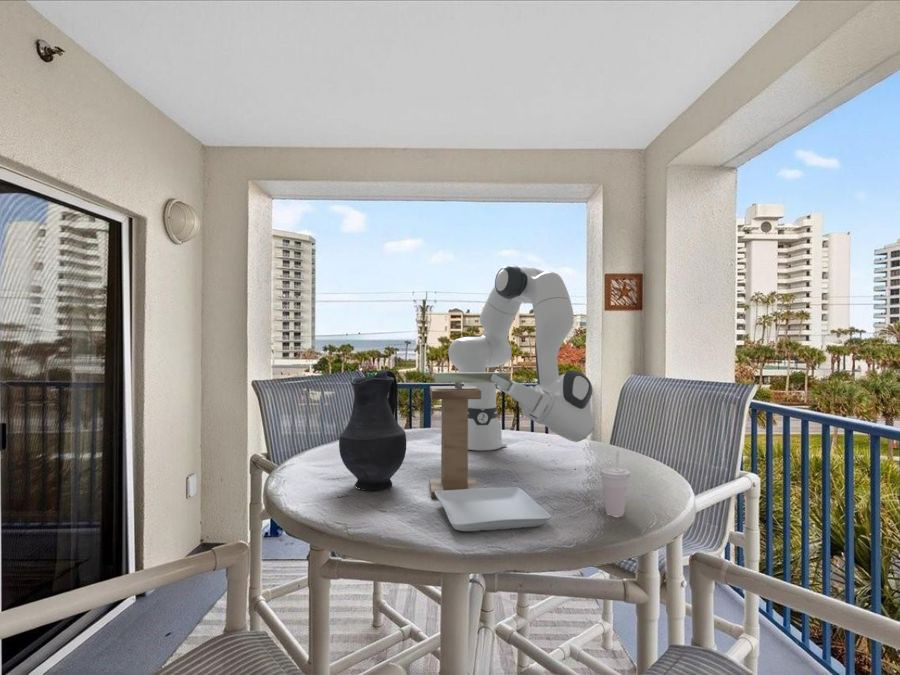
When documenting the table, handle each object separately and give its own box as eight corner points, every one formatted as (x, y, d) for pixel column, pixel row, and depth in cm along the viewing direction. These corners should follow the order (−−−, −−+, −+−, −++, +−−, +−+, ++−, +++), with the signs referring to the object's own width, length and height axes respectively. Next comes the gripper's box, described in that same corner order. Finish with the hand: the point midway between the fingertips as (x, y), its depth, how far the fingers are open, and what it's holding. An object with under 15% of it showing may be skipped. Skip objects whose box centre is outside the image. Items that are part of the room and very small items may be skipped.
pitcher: (326, 491, 130) (326, 372, 129) (367, 471, 149) (367, 367, 149) (387, 499, 124) (388, 374, 123) (422, 477, 143) (422, 369, 143)
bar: (434, 381, 132) (434, 372, 132) (507, 381, 133) (507, 372, 133) (434, 382, 129) (435, 373, 129) (509, 382, 131) (509, 373, 131)
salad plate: (554, 532, 105) (554, 515, 105) (452, 540, 100) (452, 522, 100) (518, 499, 125) (518, 485, 125) (433, 505, 121) (433, 490, 121)
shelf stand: (429, 483, 137) (429, 380, 136) (474, 483, 138) (474, 380, 137) (431, 498, 125) (432, 385, 124) (480, 497, 126) (481, 384, 125)
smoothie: (631, 520, 110) (632, 455, 110) (600, 518, 112) (601, 453, 112) (627, 510, 117) (628, 448, 117) (598, 508, 118) (598, 447, 118)
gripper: (532, 387, 143) (489, 362, 142) (552, 396, 123) (503, 367, 122) (520, 407, 143) (478, 382, 142) (539, 419, 123) (490, 390, 122)
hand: (490, 375), depth 132 cm, fingers closed on bar, 2 cm apart
